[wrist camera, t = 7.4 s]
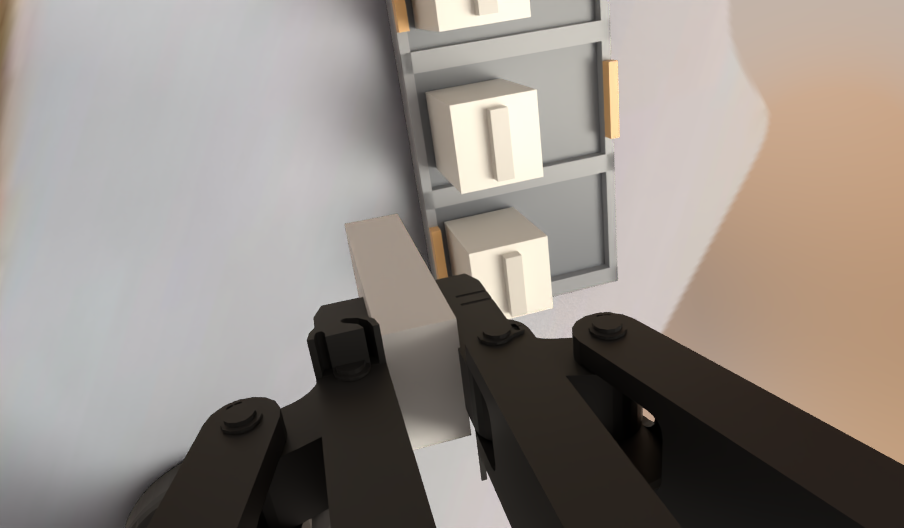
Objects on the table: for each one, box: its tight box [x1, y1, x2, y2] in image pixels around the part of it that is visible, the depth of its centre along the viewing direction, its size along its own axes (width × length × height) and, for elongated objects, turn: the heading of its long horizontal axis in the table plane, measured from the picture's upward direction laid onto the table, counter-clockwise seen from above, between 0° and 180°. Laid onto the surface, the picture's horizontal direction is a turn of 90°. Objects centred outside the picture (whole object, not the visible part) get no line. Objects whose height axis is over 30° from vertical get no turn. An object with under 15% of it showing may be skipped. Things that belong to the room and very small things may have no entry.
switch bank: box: [386, 0, 620, 297], centre depth 33 cm, size 11×22×2 cm, turn 8°
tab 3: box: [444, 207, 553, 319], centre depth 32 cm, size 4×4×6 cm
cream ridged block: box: [425, 78, 544, 194], centre depth 30 cm, size 4×4×6 cm
